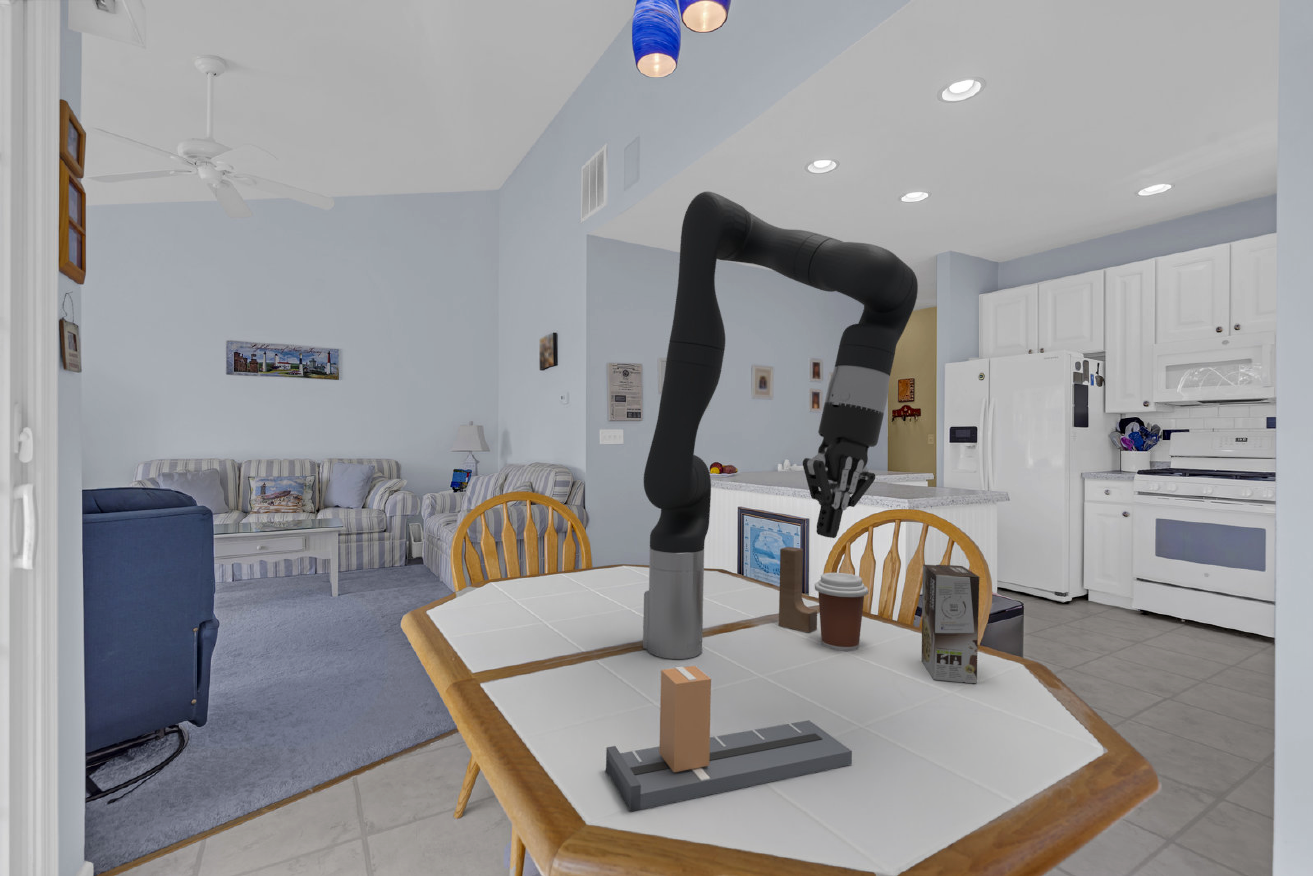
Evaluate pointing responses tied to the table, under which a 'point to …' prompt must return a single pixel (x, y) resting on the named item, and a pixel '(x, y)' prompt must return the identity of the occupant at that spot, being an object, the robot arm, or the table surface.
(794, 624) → the wooden block
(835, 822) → the table surface
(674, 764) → the fader tab
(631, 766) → the fader rail
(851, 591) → the coffee cup
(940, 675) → the coffee box
